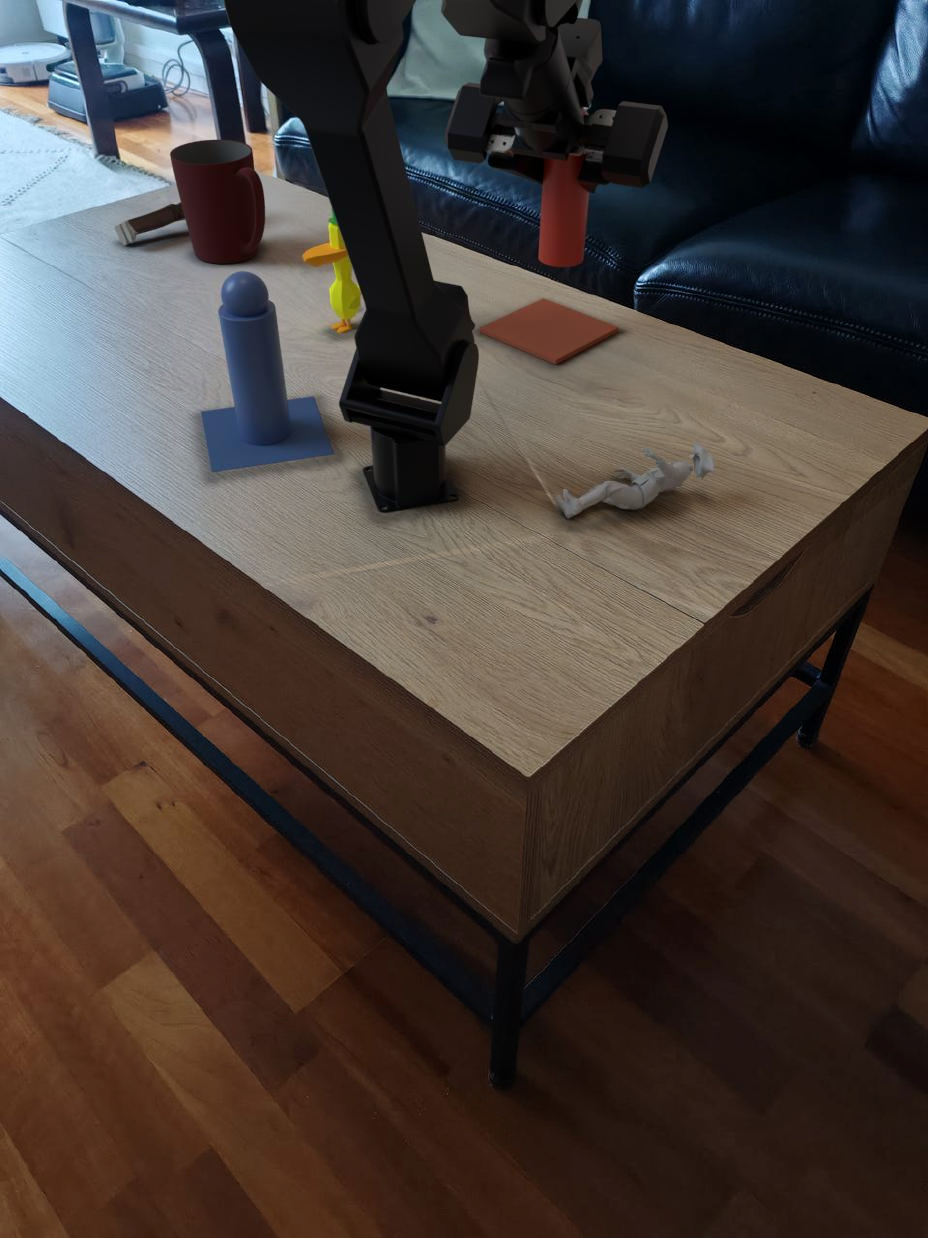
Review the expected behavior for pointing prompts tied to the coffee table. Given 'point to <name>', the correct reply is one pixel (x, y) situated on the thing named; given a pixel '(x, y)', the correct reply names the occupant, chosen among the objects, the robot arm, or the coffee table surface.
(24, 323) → the coffee table surface
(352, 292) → the toy figure
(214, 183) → the mug
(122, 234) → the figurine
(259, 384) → the blue skittle
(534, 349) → the red mat
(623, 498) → the soldier figure
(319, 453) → the blue mat
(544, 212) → the red skittle
